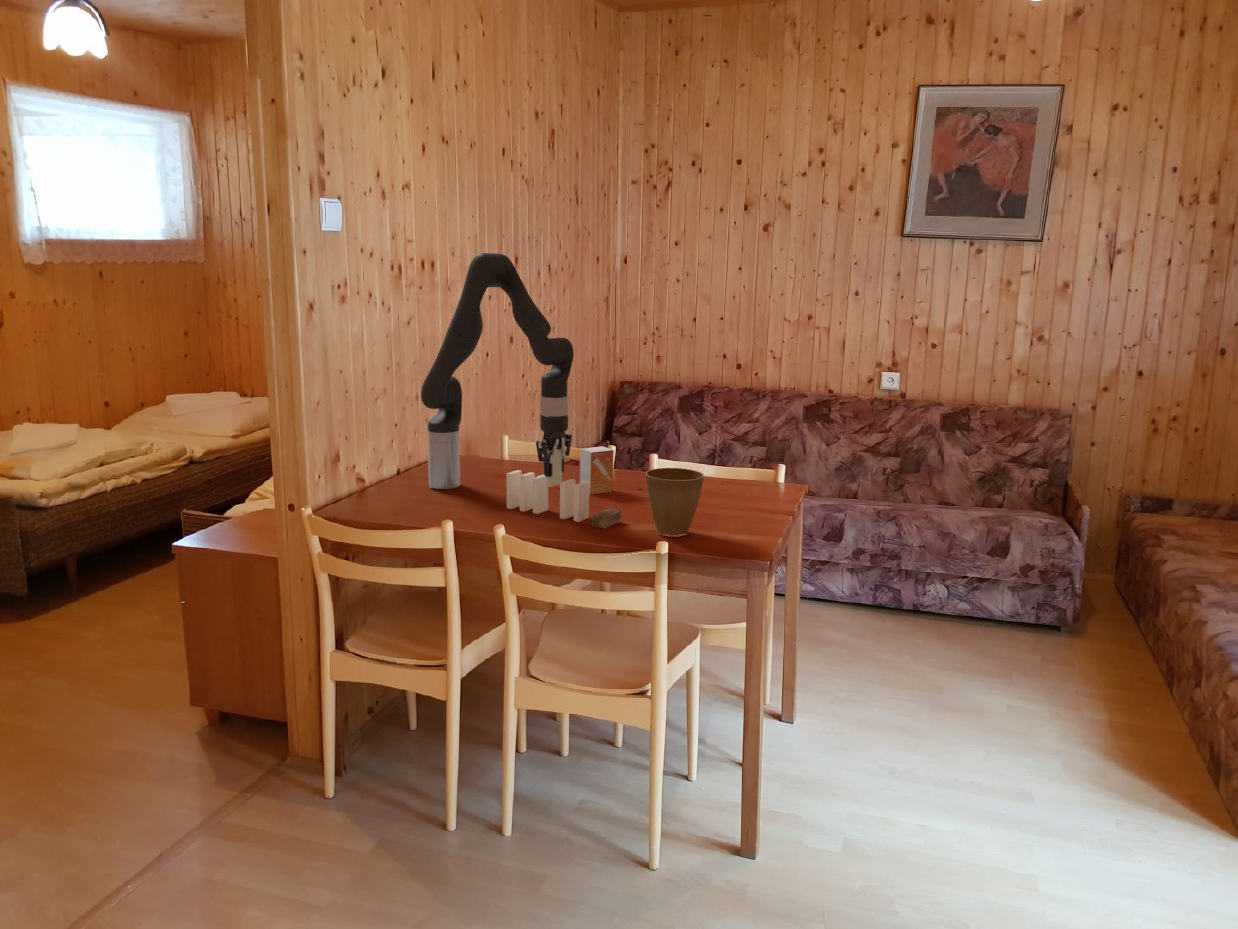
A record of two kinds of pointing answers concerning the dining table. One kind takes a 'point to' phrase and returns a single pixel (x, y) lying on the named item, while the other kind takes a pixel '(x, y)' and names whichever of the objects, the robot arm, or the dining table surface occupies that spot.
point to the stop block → (606, 518)
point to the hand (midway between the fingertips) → (554, 474)
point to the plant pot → (673, 498)
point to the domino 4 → (556, 469)
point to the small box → (597, 469)
